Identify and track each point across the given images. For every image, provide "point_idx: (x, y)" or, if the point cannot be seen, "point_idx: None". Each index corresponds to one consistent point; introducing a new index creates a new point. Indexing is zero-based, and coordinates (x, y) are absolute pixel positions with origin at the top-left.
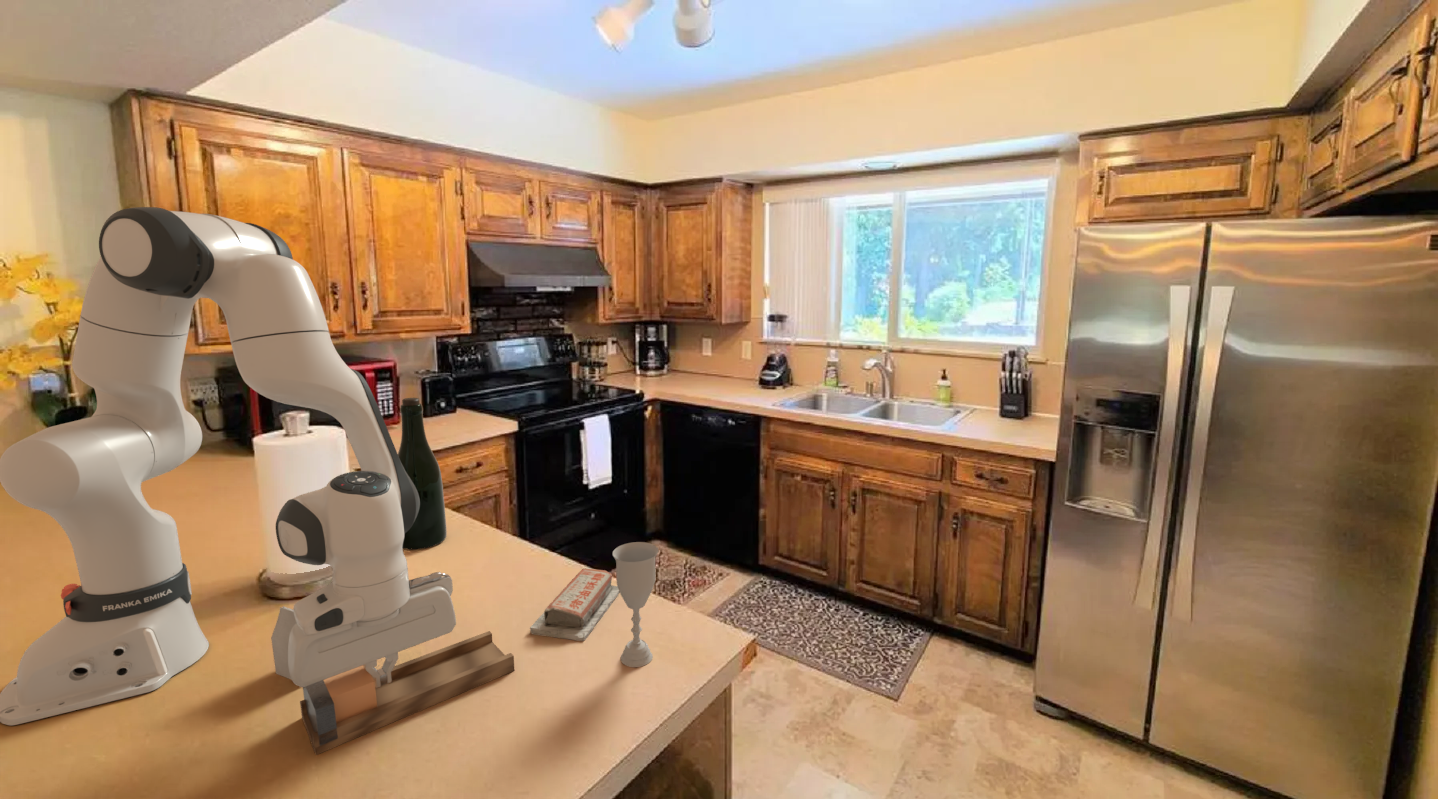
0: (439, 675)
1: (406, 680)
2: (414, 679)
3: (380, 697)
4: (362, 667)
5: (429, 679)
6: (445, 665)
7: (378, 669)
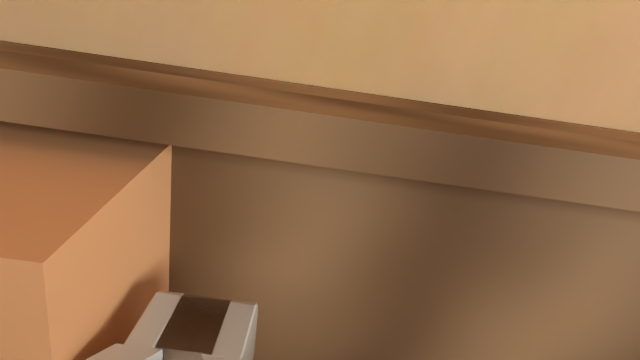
0: (537, 304)
1: (392, 208)
2: (427, 236)
3: (220, 248)
4: (22, 358)
5: (481, 294)
6: (627, 245)
7: (174, 352)
